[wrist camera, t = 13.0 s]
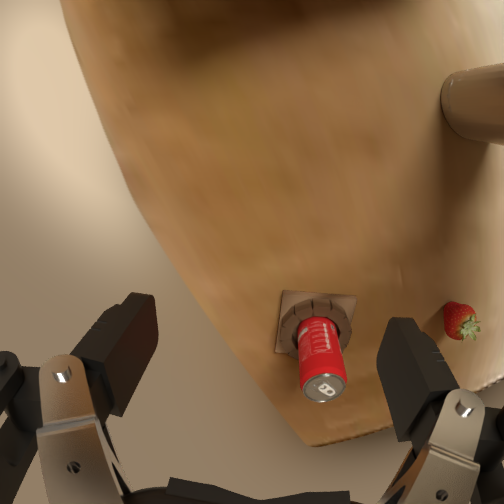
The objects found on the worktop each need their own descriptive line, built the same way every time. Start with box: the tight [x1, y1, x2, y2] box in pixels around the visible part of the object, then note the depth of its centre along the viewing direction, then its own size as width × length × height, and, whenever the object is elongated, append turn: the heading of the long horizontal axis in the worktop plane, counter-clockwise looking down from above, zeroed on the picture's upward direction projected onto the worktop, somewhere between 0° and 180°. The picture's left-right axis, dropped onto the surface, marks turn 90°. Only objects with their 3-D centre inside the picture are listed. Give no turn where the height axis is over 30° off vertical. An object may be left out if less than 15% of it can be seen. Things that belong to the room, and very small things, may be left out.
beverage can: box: [298, 316, 347, 402], centre depth 36 cm, size 5×5×12 cm
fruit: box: [444, 302, 480, 341], centre depth 37 cm, size 5×5×8 cm
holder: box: [275, 290, 357, 360], centre depth 42 cm, size 10×10×3 cm
